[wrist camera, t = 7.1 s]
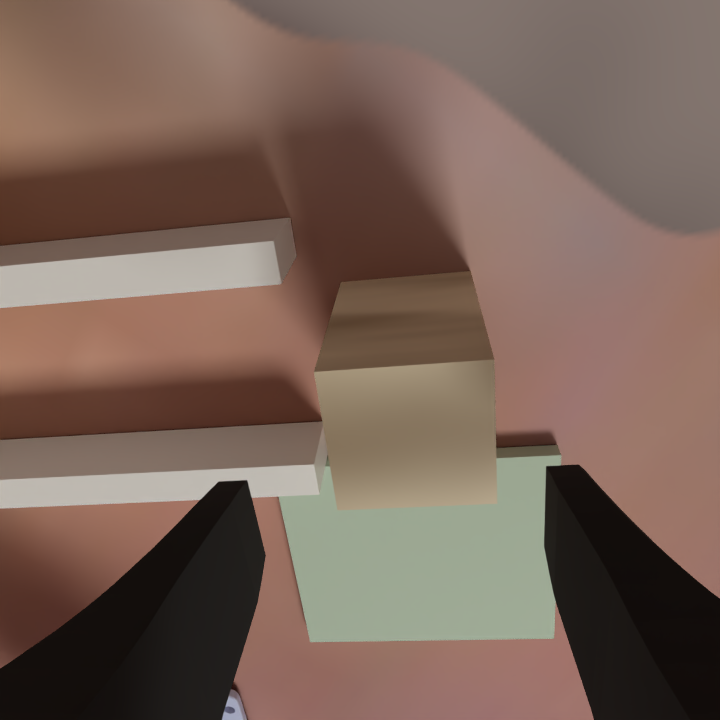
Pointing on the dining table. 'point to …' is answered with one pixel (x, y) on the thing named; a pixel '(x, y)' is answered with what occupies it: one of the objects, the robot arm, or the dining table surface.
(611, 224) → the dining table surface
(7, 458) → the slot rack
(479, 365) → the birch block
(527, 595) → the sage mat
